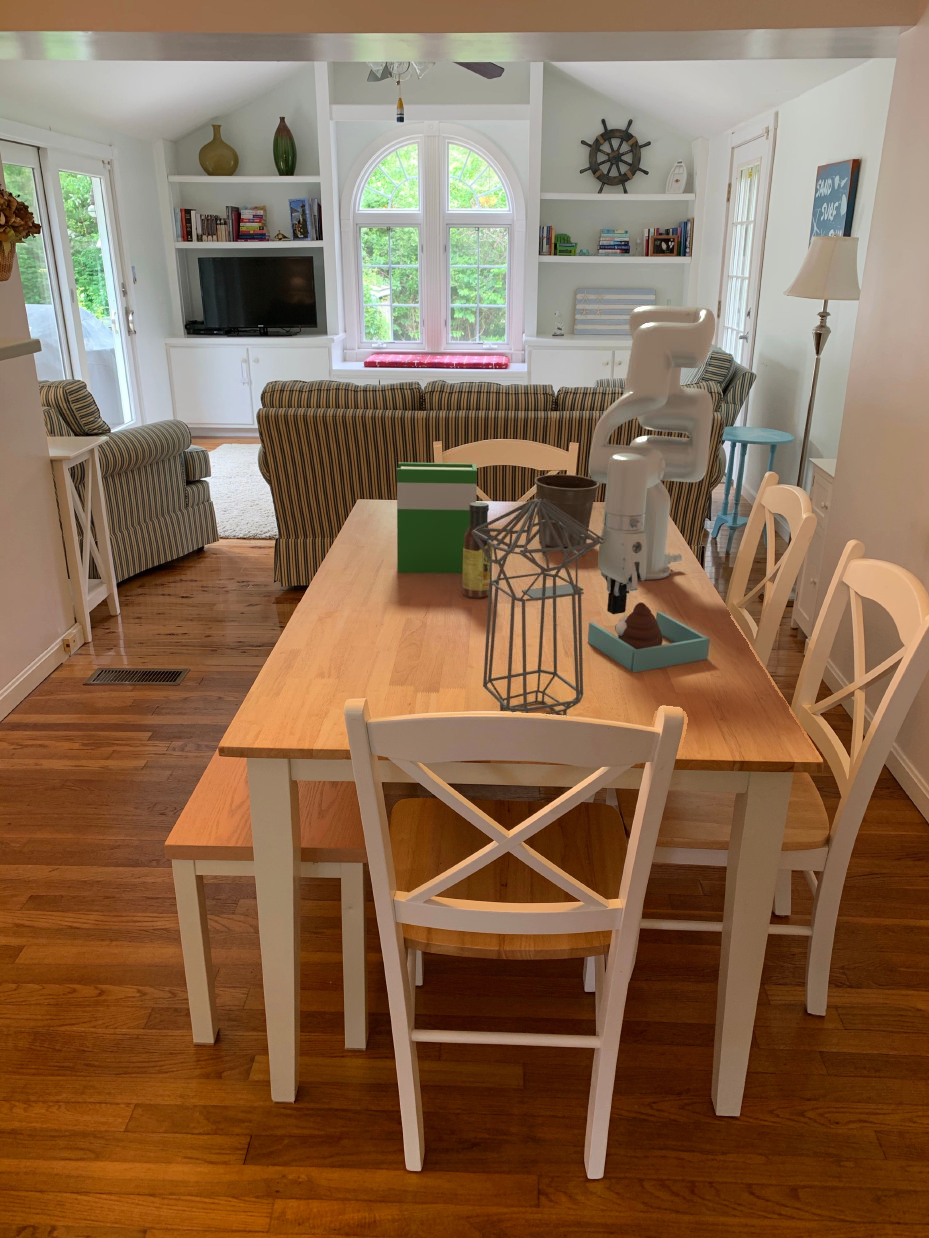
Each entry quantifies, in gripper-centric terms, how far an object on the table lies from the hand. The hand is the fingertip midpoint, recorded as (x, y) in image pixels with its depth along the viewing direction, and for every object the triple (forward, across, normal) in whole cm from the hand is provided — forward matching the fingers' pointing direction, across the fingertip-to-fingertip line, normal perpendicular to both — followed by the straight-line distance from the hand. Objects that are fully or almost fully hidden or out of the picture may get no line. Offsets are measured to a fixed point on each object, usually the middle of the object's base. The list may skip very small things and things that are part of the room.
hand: (616, 612), depth 182 cm
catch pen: (+4, -11, 0) cm, 11 cm away
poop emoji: (+4, -9, +1) cm, 10 cm away
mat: (+4, +24, 0) cm, 25 cm away
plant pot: (+4, +57, -23) cm, 61 cm away
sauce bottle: (+4, +30, +16) cm, 34 cm away
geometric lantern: (+4, -25, +34) cm, 42 cm away
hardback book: (+4, +50, +16) cm, 52 cm away
